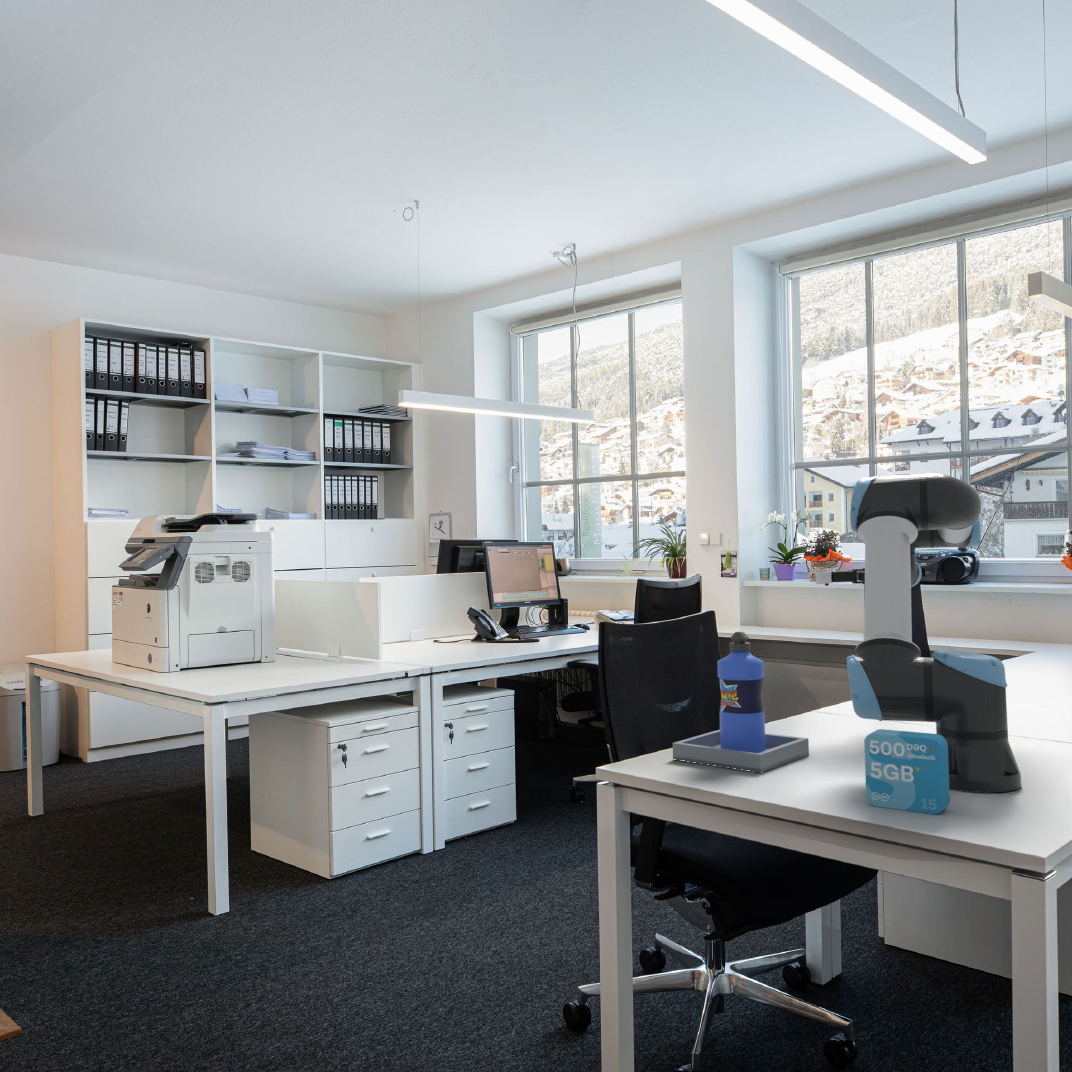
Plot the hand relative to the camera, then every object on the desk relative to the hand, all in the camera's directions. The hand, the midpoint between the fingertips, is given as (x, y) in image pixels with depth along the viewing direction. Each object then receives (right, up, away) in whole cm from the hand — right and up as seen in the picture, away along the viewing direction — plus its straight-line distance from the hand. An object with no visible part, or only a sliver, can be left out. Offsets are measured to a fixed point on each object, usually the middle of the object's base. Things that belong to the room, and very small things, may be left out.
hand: (845, 578), depth 206 cm
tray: (-27, -36, -15) cm, 48 cm away
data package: (-8, -35, -55) cm, 66 cm away
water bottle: (-26, -36, -16) cm, 47 cm away
